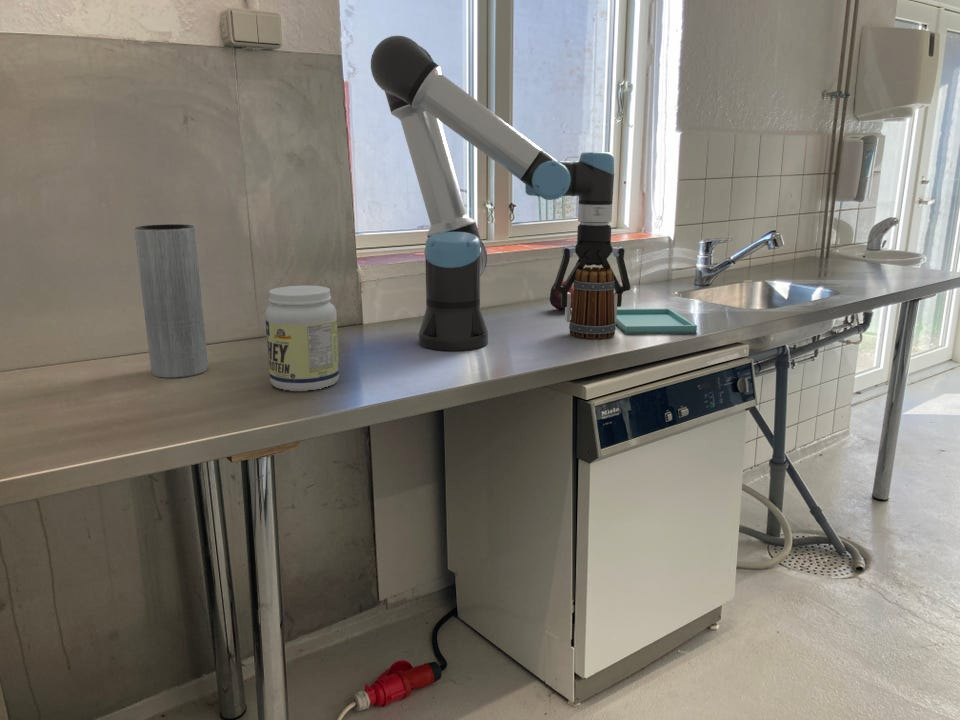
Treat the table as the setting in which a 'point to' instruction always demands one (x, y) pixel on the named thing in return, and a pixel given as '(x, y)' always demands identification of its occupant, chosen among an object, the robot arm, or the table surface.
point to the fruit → (559, 297)
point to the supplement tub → (302, 338)
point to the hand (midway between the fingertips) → (590, 320)
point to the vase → (172, 299)
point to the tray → (653, 322)
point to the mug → (593, 304)
